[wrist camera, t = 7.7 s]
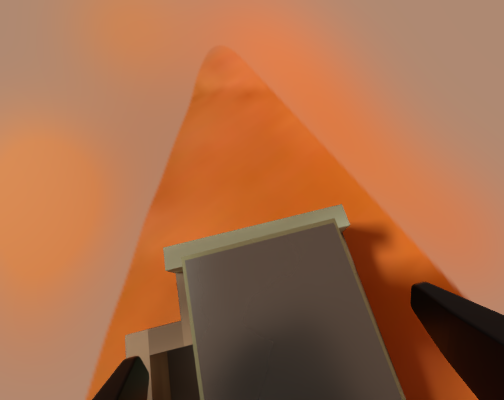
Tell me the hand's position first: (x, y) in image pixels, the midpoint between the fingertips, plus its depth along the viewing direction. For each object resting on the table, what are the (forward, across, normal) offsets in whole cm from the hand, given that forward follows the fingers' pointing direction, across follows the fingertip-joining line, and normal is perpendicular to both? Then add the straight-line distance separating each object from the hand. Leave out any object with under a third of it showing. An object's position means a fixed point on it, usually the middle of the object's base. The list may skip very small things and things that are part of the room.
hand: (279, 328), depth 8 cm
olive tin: (+6, 0, +5) cm, 8 cm away
